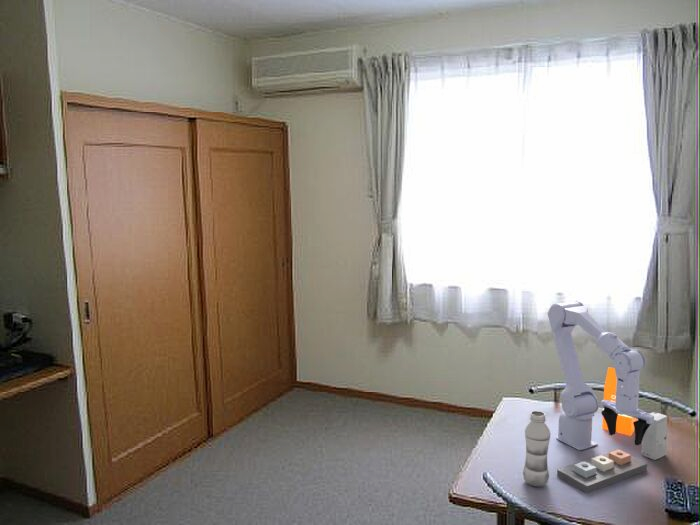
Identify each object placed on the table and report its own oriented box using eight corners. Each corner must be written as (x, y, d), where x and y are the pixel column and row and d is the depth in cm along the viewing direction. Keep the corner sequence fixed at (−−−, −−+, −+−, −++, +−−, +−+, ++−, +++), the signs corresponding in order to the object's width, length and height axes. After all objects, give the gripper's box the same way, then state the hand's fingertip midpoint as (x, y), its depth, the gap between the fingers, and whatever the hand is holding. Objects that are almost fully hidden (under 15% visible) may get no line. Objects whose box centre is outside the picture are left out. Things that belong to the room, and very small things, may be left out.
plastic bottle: (528, 474, 161) (530, 406, 158) (552, 482, 157) (554, 412, 154) (518, 484, 156) (520, 414, 153) (543, 492, 152) (545, 420, 149)
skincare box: (655, 460, 168) (657, 421, 166) (640, 454, 171) (642, 416, 170) (666, 454, 171) (669, 415, 169) (651, 449, 175) (653, 411, 173)
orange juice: (608, 420, 195) (611, 363, 192) (636, 427, 190) (640, 368, 187) (601, 428, 189) (604, 370, 186) (631, 436, 184) (634, 375, 181)
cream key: (591, 465, 162) (591, 458, 162) (601, 461, 164) (601, 454, 163) (603, 471, 158) (603, 464, 158) (613, 467, 160) (613, 460, 160)
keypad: (557, 476, 160) (557, 469, 160) (615, 455, 171) (616, 449, 171) (586, 493, 151) (586, 486, 151) (646, 470, 162) (647, 463, 162)
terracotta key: (608, 459, 165) (608, 452, 165) (618, 455, 167) (618, 448, 167) (620, 465, 162) (621, 458, 161) (630, 461, 163) (630, 454, 163)
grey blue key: (573, 471, 159) (574, 464, 158) (583, 467, 160) (584, 460, 160) (585, 478, 155) (585, 470, 155) (595, 474, 157) (596, 466, 157)
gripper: (595, 388, 165) (593, 434, 166) (645, 404, 153) (642, 452, 155) (609, 383, 168) (607, 427, 170) (659, 398, 157) (656, 445, 158)
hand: (624, 439), depth 163 cm, fingers open, 7 cm apart
